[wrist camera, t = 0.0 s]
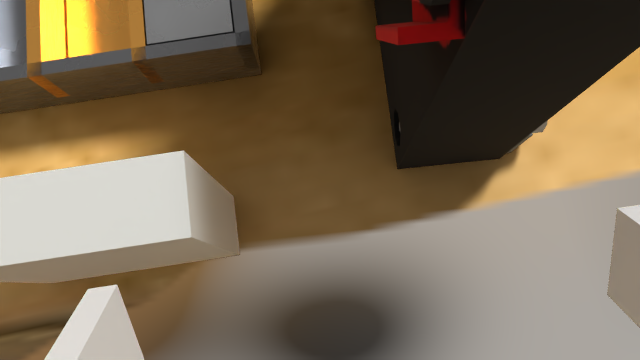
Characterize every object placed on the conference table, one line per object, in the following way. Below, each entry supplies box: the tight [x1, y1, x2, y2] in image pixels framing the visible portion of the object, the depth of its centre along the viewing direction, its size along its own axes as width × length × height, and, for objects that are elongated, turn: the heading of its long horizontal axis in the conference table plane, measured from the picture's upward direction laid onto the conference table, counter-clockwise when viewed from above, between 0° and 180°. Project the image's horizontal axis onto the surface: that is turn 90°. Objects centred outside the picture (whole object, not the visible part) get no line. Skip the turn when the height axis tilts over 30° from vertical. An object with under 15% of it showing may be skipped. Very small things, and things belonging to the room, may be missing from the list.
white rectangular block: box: [0, 150, 240, 283], centre depth 24 cm, size 4×11×10 cm, turn 98°
